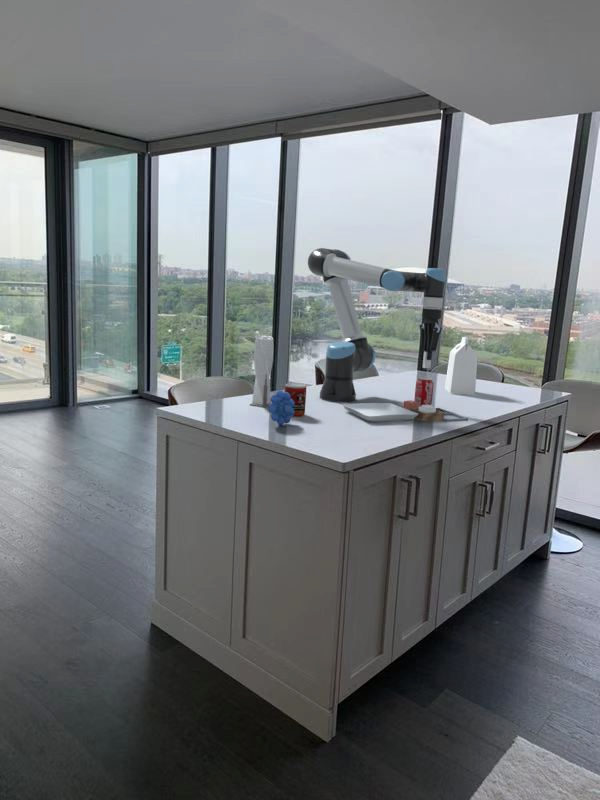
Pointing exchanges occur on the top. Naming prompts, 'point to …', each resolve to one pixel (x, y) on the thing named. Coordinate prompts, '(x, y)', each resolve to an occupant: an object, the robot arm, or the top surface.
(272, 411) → the grapes
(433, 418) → the base
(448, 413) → the track
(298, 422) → the top surface
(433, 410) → the dome
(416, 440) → the top surface
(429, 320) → the robot arm
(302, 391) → the canned food
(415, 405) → the die
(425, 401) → the soda can
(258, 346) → the skyscraper
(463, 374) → the milk
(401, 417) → the salad plate
